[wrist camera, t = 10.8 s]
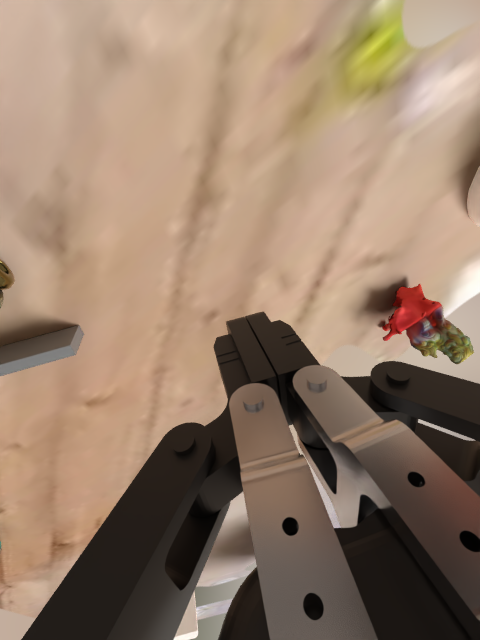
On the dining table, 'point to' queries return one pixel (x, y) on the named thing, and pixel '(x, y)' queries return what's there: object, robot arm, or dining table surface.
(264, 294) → the dining table surface
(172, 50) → the dining table surface
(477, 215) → the teardrop
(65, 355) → the box
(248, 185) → the dining table surface
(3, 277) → the cup
